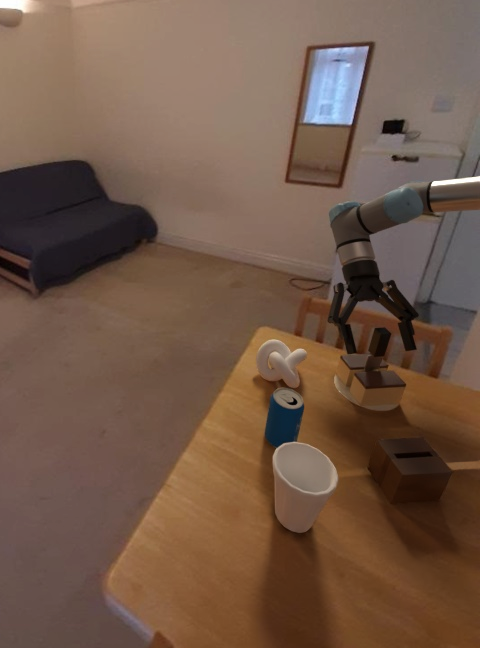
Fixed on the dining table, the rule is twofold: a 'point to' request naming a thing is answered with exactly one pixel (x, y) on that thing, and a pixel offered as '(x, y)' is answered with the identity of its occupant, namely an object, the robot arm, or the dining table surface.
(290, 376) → the white knot sculpture
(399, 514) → the dining table surface
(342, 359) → the cake
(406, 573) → the dining table surface
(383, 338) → the knife
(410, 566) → the dining table surface
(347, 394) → the plate
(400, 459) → the knife block
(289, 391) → the beverage can
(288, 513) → the cup
